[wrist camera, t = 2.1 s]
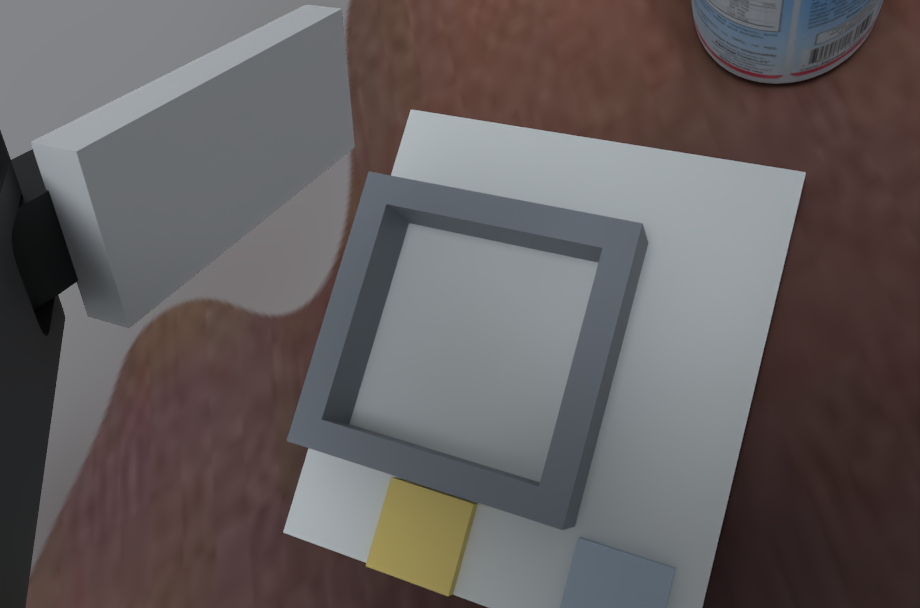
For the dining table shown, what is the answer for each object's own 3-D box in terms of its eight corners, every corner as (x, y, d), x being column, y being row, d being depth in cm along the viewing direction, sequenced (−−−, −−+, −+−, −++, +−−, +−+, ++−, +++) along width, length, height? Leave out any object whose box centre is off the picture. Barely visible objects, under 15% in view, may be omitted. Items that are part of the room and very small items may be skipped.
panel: (803, 181, 27) (813, 146, 25) (686, 673, 26) (681, 697, 23) (418, 118, 32) (389, 83, 29) (294, 531, 30) (250, 535, 27)
